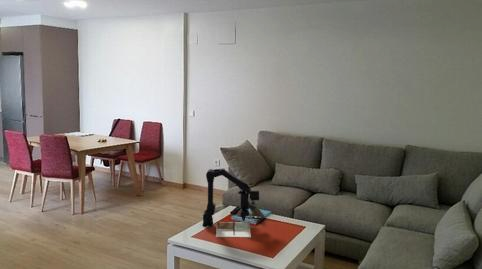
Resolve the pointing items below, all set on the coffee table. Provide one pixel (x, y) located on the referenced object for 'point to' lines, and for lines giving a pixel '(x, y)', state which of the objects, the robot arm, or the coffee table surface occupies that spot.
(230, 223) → the fence fixed section
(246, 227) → the fence panel
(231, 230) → the card
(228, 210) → the coffee table surface
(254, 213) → the worn brown figurine
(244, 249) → the coffee table surface
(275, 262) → the coffee table surface
